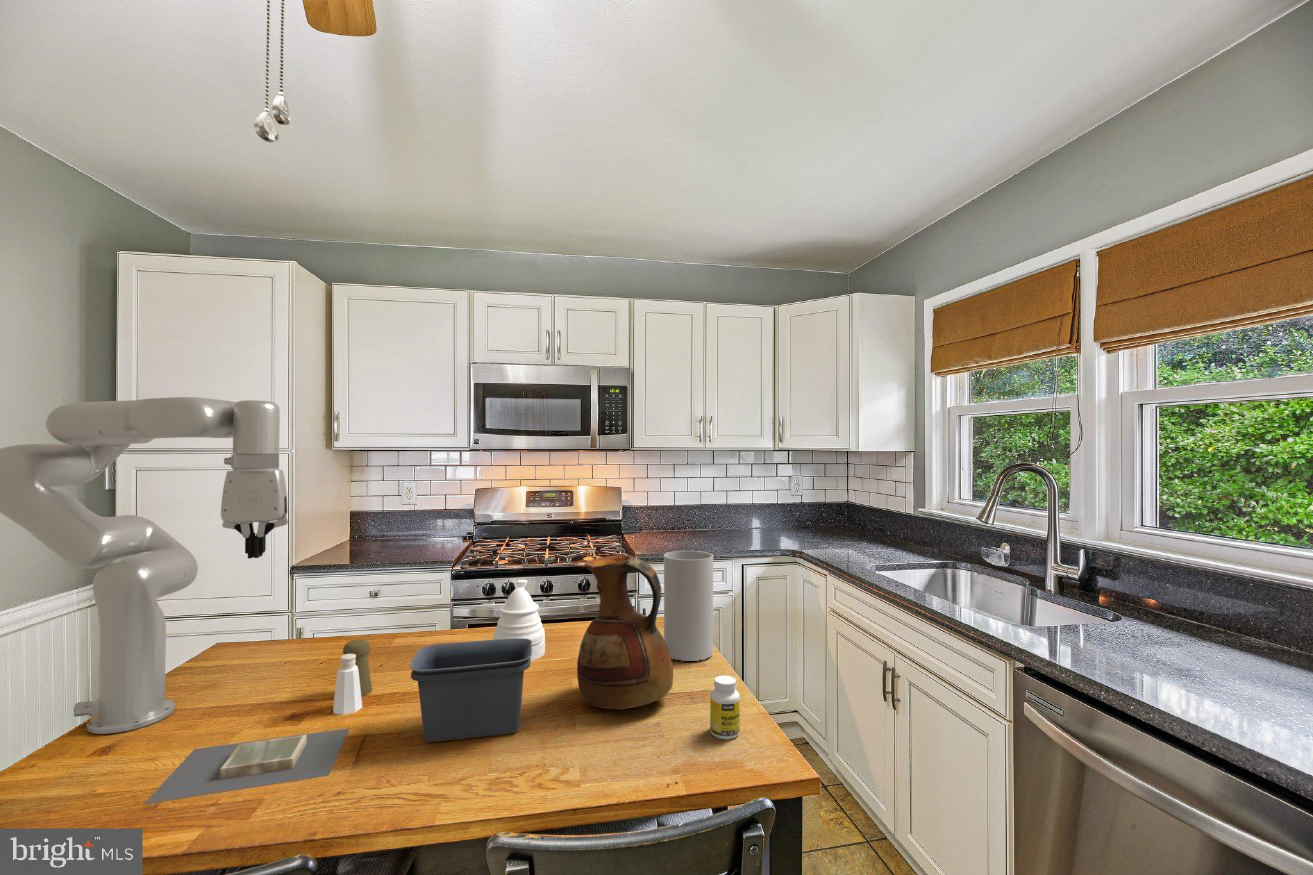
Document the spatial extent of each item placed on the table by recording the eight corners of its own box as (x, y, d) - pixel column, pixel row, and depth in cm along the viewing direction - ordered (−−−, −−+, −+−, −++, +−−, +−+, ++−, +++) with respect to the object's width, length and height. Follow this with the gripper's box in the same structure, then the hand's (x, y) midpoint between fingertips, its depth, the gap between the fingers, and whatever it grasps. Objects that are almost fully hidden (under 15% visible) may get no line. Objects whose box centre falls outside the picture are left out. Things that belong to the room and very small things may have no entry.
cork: (358, 699, 119) (359, 646, 119) (333, 697, 120) (334, 644, 120) (378, 687, 125) (378, 637, 125) (354, 685, 126) (354, 635, 126)
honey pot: (505, 643, 153) (505, 576, 153) (551, 646, 151) (551, 577, 151) (484, 661, 140) (484, 588, 141) (534, 664, 138) (534, 589, 139)
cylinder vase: (688, 641, 154) (688, 548, 155) (723, 654, 145) (723, 555, 145) (653, 653, 146) (653, 554, 146) (689, 667, 137) (688, 562, 137)
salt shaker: (341, 719, 110) (342, 662, 111) (326, 713, 113) (326, 657, 113) (368, 709, 115) (368, 653, 115) (353, 702, 118) (353, 648, 118)
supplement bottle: (721, 743, 102) (720, 687, 102) (704, 729, 106) (704, 676, 107) (745, 736, 104) (745, 681, 104) (728, 723, 109) (728, 671, 109)
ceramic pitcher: (593, 677, 131) (593, 545, 131) (680, 684, 127) (680, 549, 127) (562, 716, 112) (562, 562, 112) (663, 727, 107) (663, 567, 108)
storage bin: (404, 753, 98) (405, 670, 99) (422, 712, 113) (422, 640, 114) (531, 740, 103) (531, 660, 103) (531, 702, 118) (532, 633, 118)
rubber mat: (143, 807, 84) (143, 804, 84) (194, 751, 99) (194, 748, 99) (328, 778, 91) (328, 775, 91) (349, 730, 106) (349, 728, 106)
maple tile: (220, 768, 90) (293, 758, 93) (239, 743, 98) (306, 734, 101) (219, 779, 90) (292, 768, 93) (239, 753, 97) (306, 743, 101)
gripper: (202, 464, 107) (201, 563, 106) (294, 463, 111) (293, 558, 111) (219, 463, 114) (218, 555, 114) (304, 462, 118) (304, 551, 118)
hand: (255, 556), depth 112 cm, fingers closed
